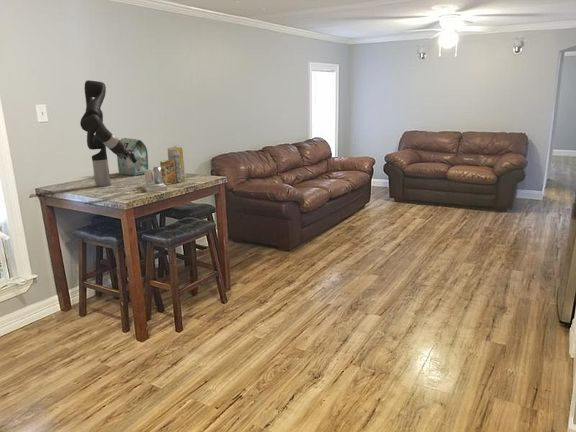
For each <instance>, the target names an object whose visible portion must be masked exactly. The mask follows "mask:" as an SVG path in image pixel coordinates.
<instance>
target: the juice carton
mask: <svg viewBox="0 0 576 432" xmlns="http://www.w3.org/2000/svg"><path fill="white" fill-rule="evenodd" d="M167 156H168V157H167V160H174V163H175V172H176V182H177V183H182V182H185V181H186V168H185V157H184V156H185V155H184V148H183V147H182V146H181V147H180V146H179V145H174V146H171V147H167Z"/></svg>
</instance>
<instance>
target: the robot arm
mask: <svg viewBox="0 0 576 432" xmlns="http://www.w3.org/2000/svg"><path fill="white" fill-rule="evenodd" d="M106 92H107V89H106V84H105V82H103V81H98V80H97V81H96V80H91V79H90V80H88V79H87V80H85V82H84V96H85V104H86V106H85V112H84V113H83V116H81V119H80V121H79V122H80V123H79V125H80V128H81V129H82V130H83V131H84V132H86V144H87V148H88V149H89V150H100V151H99V152H97V153H95V154H93V155H92V156H91V160H92V169H93V177H94V183H95V188H98V187H99V188H102V187H110V186H111V185H112V184H111V175H110V169H109V161H108V155H107V149H108V150H110V151H111V152H112V153H113V154H114V155H116V157H117V156H119V157H120V158H123V159H125V160H126V158H129V159H130V160H131V161H132V162H134V163H136V162H137V160H136V159H135V158H134V156H135V155H134V154H133V153H132V151H131V150H127V149H125V148H124V147H123V143H122V142H121V141H120V140H121V139H119V138H118V137H117V135H114V134H113V133H112V132H111V131H110V130H109V129H108V128H107V127H106V125H105V124H104V123H103V122H104V120H103V119H104V113H103V110H102V109H101V107H102V105H103V102H104V99H105V97H106ZM127 154H128V155H127ZM126 155H127V156H126Z"/></svg>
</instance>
